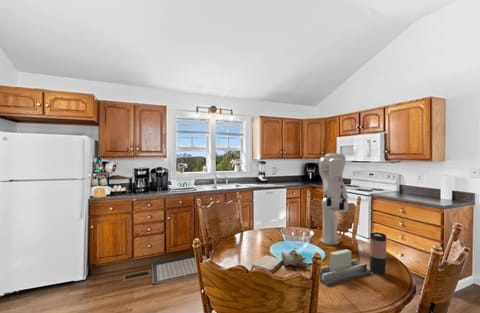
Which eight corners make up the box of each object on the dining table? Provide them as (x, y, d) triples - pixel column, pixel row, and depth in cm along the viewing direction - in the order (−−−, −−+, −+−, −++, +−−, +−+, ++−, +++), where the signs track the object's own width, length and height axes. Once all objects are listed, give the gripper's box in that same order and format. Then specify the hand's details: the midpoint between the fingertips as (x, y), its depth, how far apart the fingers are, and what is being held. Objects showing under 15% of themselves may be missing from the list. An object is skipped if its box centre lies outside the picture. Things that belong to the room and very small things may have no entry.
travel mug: (385, 276, 124) (386, 237, 124) (368, 272, 128) (369, 235, 128) (386, 270, 130) (386, 233, 130) (369, 267, 134) (370, 231, 134)
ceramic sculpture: (280, 245, 142) (306, 247, 141) (279, 260, 142) (305, 262, 141) (283, 253, 131) (311, 255, 130) (281, 268, 131) (309, 271, 130)
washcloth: (250, 269, 131) (250, 264, 131) (265, 258, 146) (265, 252, 146) (270, 275, 124) (270, 269, 124) (283, 263, 139) (284, 257, 139)
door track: (351, 264, 138) (352, 257, 138) (371, 273, 127) (371, 266, 127) (310, 274, 125) (310, 266, 125) (327, 286, 114) (327, 277, 114)
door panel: (346, 267, 130) (346, 249, 130) (351, 270, 127) (351, 251, 127) (329, 272, 125) (329, 252, 125) (333, 274, 122) (334, 254, 122)
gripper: (352, 180, 139) (351, 210, 139) (329, 177, 155) (329, 204, 155) (342, 181, 136) (342, 211, 136) (320, 178, 152) (320, 205, 152)
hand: (335, 207), depth 145 cm, fingers open, 9 cm apart
